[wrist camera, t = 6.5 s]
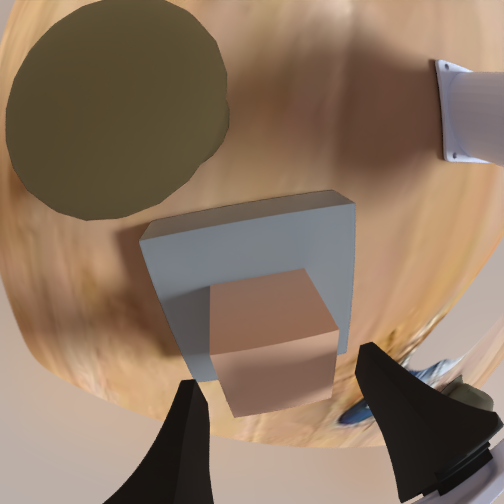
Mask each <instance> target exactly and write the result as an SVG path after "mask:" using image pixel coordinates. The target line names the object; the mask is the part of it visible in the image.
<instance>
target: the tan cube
mask: <svg viewBox="0 0 504 504" xmlns="http://www.w3.org/2000/svg"><path fill="white" fill-rule="evenodd" d="M338 339H339V328H338V326H337V324H336V323H335V321H334V319H333V317H332V315H331V314H330V312H329V310H328V308H327V307H326V305H325V303H324V301H323V300H322V298H321V296H320V294H319V293H318V291H317V289H316V287H315V286H314V284H313V282H312V281H311V279H310V277H309V275H308V274H307V272H306V270H305V269H304V268H302V269H297V270H291V271H286V272H281V273H275V274H270V275H265V276H259V277H254V278H248V279H243V280H237V281H231V282H225V283H220V284H214V285H210V358H211V361H212V363H213V366H214V369H215V371H216V374H217V377H218V379H219V382H220V384H221V387H222V389H223V392H224V394H225V397H226V399H227V402H228V404H229V407H230V409H231V411H232V414H233V416H234V418H235V417H242V416H249V415H255V414H261V413H267V412H272V411H278V410H283V409H287V408H292V407H296V406H301V405H305V404H309V403H313V402H317V401H320V400H324V399H328V398H331V395H332V388H333V381H334V374H335V366H336V358H337V349H338Z"/></svg>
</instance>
